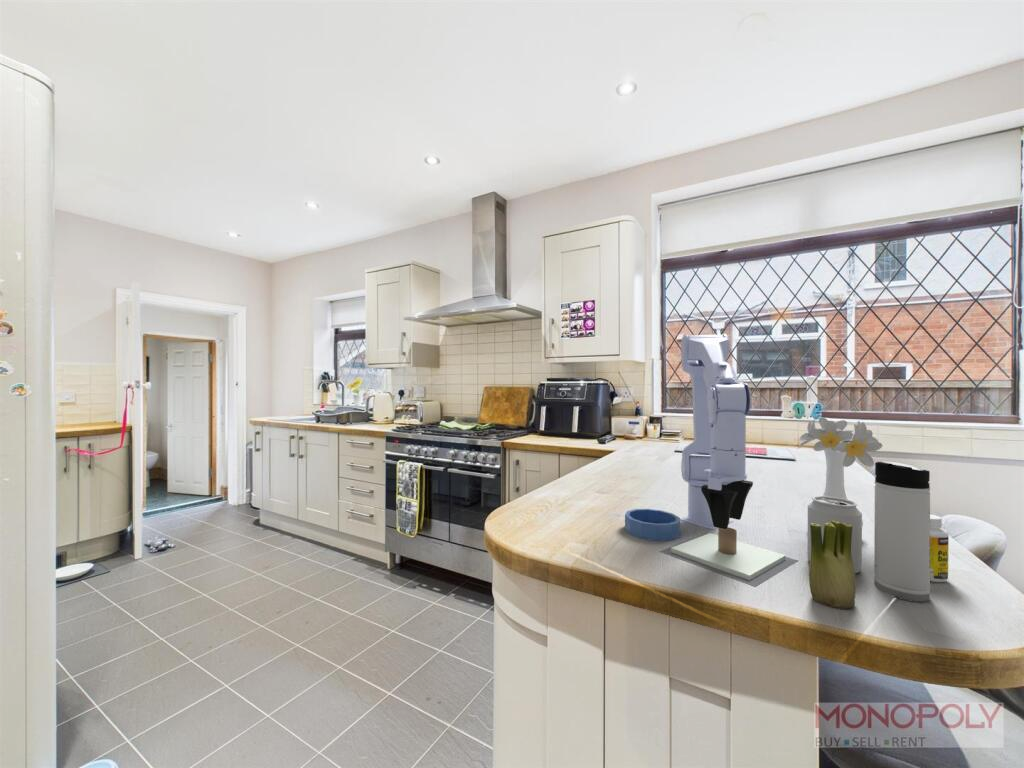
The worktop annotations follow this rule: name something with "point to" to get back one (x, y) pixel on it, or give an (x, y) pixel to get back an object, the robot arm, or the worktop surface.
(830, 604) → the fennel bulb
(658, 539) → the bowl
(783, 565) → the mat
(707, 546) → the lid
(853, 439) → the flower vase
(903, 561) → the travel mug
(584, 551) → the worktop surface
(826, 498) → the can
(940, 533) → the supplement bottle
